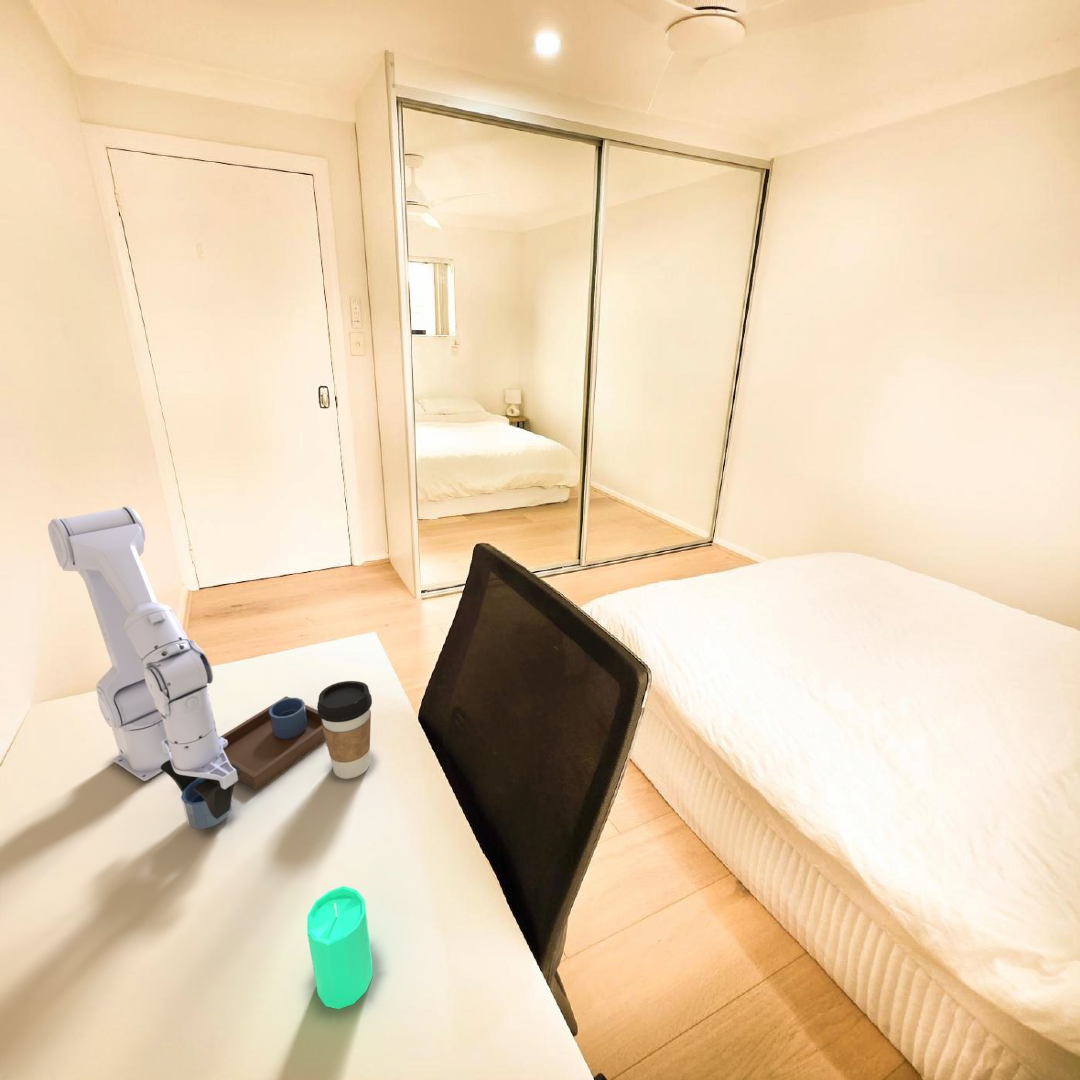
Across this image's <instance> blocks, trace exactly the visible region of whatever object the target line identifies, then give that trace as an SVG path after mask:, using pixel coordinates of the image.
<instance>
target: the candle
mask: <svg viewBox="0 0 1080 1080" xmlns="http://www.w3.org/2000/svg"><path fill="white" fill-rule="evenodd" d="M367 916H368V915H367V907H366V900H365V898H364V897H363V896H362V894H361V893H360V892H359V891H358V890H357V889H355V888H352V887H350V886H349V887H348V886H345V885H341V886H339V887H337V888H334V889H331V890H329V891H327V892H326V893H324V894H323V895H322V896H320V897H319V898H318V899H317V900H315V901H314V903H313V905H312V907H311V908H310V910H309V911H308V914H307V921H306V925H307V926H306V933H307V934H306V935H307V940H308V944H309V951H310V957H311V962H312V969H313V974H314V980H315V986H316V992H317V996H318V998H319V1000H320V1001H321V1003H323V1005H324V1006H325V1007H327V1008H330V1009H331V1008H332V1009H335V1010H341V1009H343V1008H346V1007H349V1006H352V1005H354V1004H355V1003H356V1002H357V1001H358V1000H359V999H361V997H363V995H365V994H366V993H367V991H368V989H369V986H370V984H371V981H372V979H373V977H374V976H373V975H374V974H373V959H372V950H371V942H370V941H371V940H370V933H369V926H368V917H367Z"/></svg>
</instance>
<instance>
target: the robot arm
mask: <svg viewBox="0 0 1080 1080" xmlns="http://www.w3.org/2000/svg"><path fill="white" fill-rule="evenodd" d="M47 532H48V536H49V539H50V542H51V546H52V549H53V551H54V554H55V557H56V561H57V563H58V566H60V567H61V569H62V571H64V572H77V573H78V574H79V575H80V577H81V578H82V580H83V581H84V584H85V586H86V589H87V593H88V596H89V599H90V602H91V605H92V608H93V611H94V614H95V618H96V620H97V624H98V626H99V629H100V632H101V636H102V638H103V641H104V644H105V647H106V651H107V653H108V657H109V659H110V662H111V667H110V669H108V670H107V672H106V673H105V674H104V675H103V676H102V677H101V678H100V679H99V680H98V681H97V682H96V685H95V686H96V687H95V691H96V694H97V703H98V706H99V709H100V712H101V714H102V717H103V719H104V721H105V722H106V724H107V725H108V727H110V728H111V729H112V733H113V736H114V741H115V743H116V747H117V750H118V754H119V755H118V756H116V757H115V758H113V762H114V763H116V764H117V765H118V766H120V767H122V768H123V769H124V770H126V771H127V772H129V773H130V774H132V775H133V776H135V777H136V778H137V779H139V780H141V781H143V782H146V781H149V780H151V779H152V778H154V777H155V776H157V775H159V774H161V772H164V773H166V774H167V775H168V777H170V778H171V779H172V780H173V782H174V783H175V784H176V786H177V787H178V788H179V790H180V791H181V793H182V792H183V790H184V789H185V788H186V787H187V785H188V784H190V783H191V782H193V781H194V780H196V779H197V778H208V779H206V780H204V781H203V782H201V783H200V784H198V785H197V786H195V787H194V788H193V789H194V791H196V792H197V793H199V794H200V795H201V796H202V797H203V798H204V800H205V801H206V803H207V805H208V808H209V810H210V812H211V814H212V815H213V817H214V818H216V819H218V818H219V817H221V816H222V815H223V814H225V813H226V812H228V811H229V810H230V805H231V798H232V799H233V792H234V788H235V785H236V783H237V782H238V781H239V780H238V777H239V775H240V768H239V767H237V766H235V765H234V764H233V765H231V764H230V763H229V761H228V758H227V756H226V754H225V752H224V750H223V748H224V747H226V746H227V745H228V742H227V740H226V739H224V738H222V737H220V736H219V735H218V731H217V726H216V725H217V724H216V720H215V717H214V711H213V707H212V702H211V697H210V692H209V688H208V684H212V683H213V682H214V681H213V680H214V674H213V673H214V672H213V669H212V666H211V663H210V661H209V659H208V656H207V655H206V653H205V651H204V650H203V649H202V648H201V647H200V646H199V645H198V644H197V643H196V641H195V640H194V639H193V638H192V639H189V637H188V636H187V634H186V631H185V630H184V627H183V626H182V624H181V622H180V621H179V618H178V617H177V614H176V613H175V612H174V609H173V607H171V606H170V605H168V604H164V603H160V602H159V601H158V600H157V597H156V595H155V592H154V589H153V588H152V585H151V582H150V579H149V577H148V575H147V572H146V570H145V567H144V565H143V562H142V560H141V558H140V556H141V555H143V553H144V551H145V541H146V530H145V526H144V523H143V520H142V518H141V516H140V515H139V513H138V512H137V511H136V510H135V509H133V508H132V507H130V506H128V505H127V506H126V505H125V506H123V507H121V508H115V509H110V510H109V509H108V510H103V511H98V512H91V513H87V514H86V513H85V514H80V515H75V516H68V517H64V518H57V517H56V518H52V519H51V520H50V522H49V523H48V525H47Z"/></svg>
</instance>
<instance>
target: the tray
mask: <svg viewBox="0 0 1080 1080" xmlns="http://www.w3.org/2000/svg"><path fill="white" fill-rule="evenodd" d="M286 698H290V697H289V696H287V695H286V696H283V698H281V699H279V700H277V701H276V702H278V701H280V700H282V699H286ZM276 702H274V703H273V704H275V703H276ZM273 704H271V705H269V706H267V707H265V708H264V709H263V710H261V711H260V712H258V713H256V714H254V715H253V716H252V717H250V718H248V719H246V720H245V721H243V722H242V723H240V724H238V725H237V726H235V727H234V728H232V729H230V730H229V731H227V732H225V733H224V734H222V735H220V736H219V737H222V738H224V739H226V740H227V742H228V745H227V746H226V747H224V748H223V750H224V752H225V754H226V756H227V758H228V761H229V763H230V764H231V765H233V764H234V765H235V766H237V767H239V768H240V775H239V777H238V781H240V782H242V783H243V784H245V785H246V786H248V787H250V788H252V789H253V790H255V791H258V790H259V789H260V788H262V787H263V786H264V785H266V784H267V783H268V782H269V781H271V780H272V779H273V778H275V777H276V776H277V775H279V774H281V772H283V771H284V770H286V769H287V768H288V767H290V766H291V765H293V764H294V763H295V762H297V761H298V760H299V759H300V758H302V757H303V756H305V755H306V754H307V753H309V752H310V751H311V750H313V749H314V748H315V747H316V746H318V745H319V744H321V743H322V742H323V741H324V740H326V739H325V735H324V731H323V727H322V723H321V721H322V718H321V717H320V716H319V715H318V709H317V708H314V707H311V706H309V705H307V704H305V709H306V716H307V727H306V729H305V730H304V731H303V732H302V733H301V734H300V735H298V736H297V737H294V738H291V739H280V738H277V737H275V736H274V735H273V733H272V728H271V722H270V716H269V710H270V707H271V706H272V705H273Z"/></svg>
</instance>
